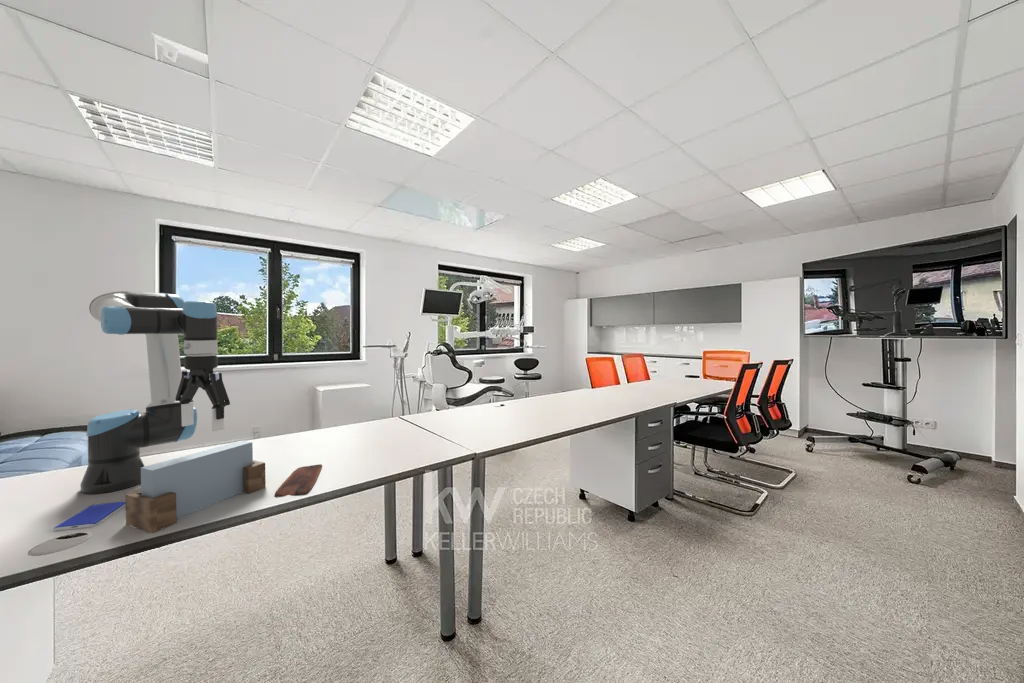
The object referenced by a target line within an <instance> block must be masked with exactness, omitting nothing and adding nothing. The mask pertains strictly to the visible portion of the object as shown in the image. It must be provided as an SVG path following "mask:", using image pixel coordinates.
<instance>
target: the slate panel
mask: <svg viewBox="0 0 1024 683" xmlns="http://www.w3.org/2000/svg"><path fill="white" fill-rule="evenodd" d="M253 449H254V448H253V442H252V441H249V440H242V439H241V440H238V441H235V442H231V443H227V444H224V445H220V446H216V447H212V448H209V449H206V450H201V451H197V452H194V453H190V454H186V455H182V456H179V457H176V458H171V459H167V460H165V461H161V462H158V463H154V464H153V463H152V464H150V465H149V464H148V465H146V466H145V465H144V466H145V467H141V483H140V490H141V496H145V497H148V498H153V497H156V496H159V495H162V494H165V493H168V492H174V493H176V509H177V518H181V517H183V516H186V515H188V514H191V513H193V512H196V511H198V510H201V509H203V508H206V507H209V506H211V505H213V504H216V503H219V502H221V501H223V500H226V499H229V498H231V497H233V496H236V495H239V494H241V493H244V487H243V467H246V466H249V465H252V464H253V460H254V457H253V456H254V454H253V453H254V452H253V451H254V450H253Z"/></svg>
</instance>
